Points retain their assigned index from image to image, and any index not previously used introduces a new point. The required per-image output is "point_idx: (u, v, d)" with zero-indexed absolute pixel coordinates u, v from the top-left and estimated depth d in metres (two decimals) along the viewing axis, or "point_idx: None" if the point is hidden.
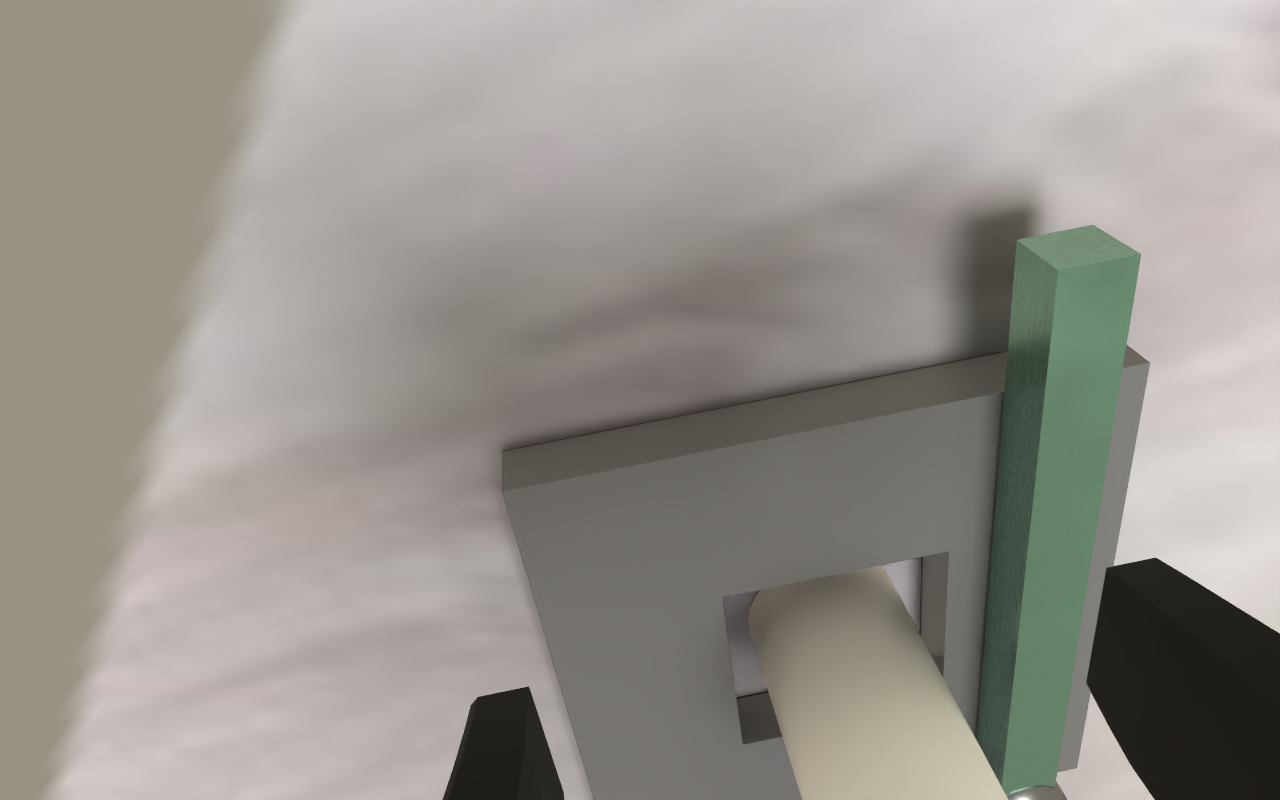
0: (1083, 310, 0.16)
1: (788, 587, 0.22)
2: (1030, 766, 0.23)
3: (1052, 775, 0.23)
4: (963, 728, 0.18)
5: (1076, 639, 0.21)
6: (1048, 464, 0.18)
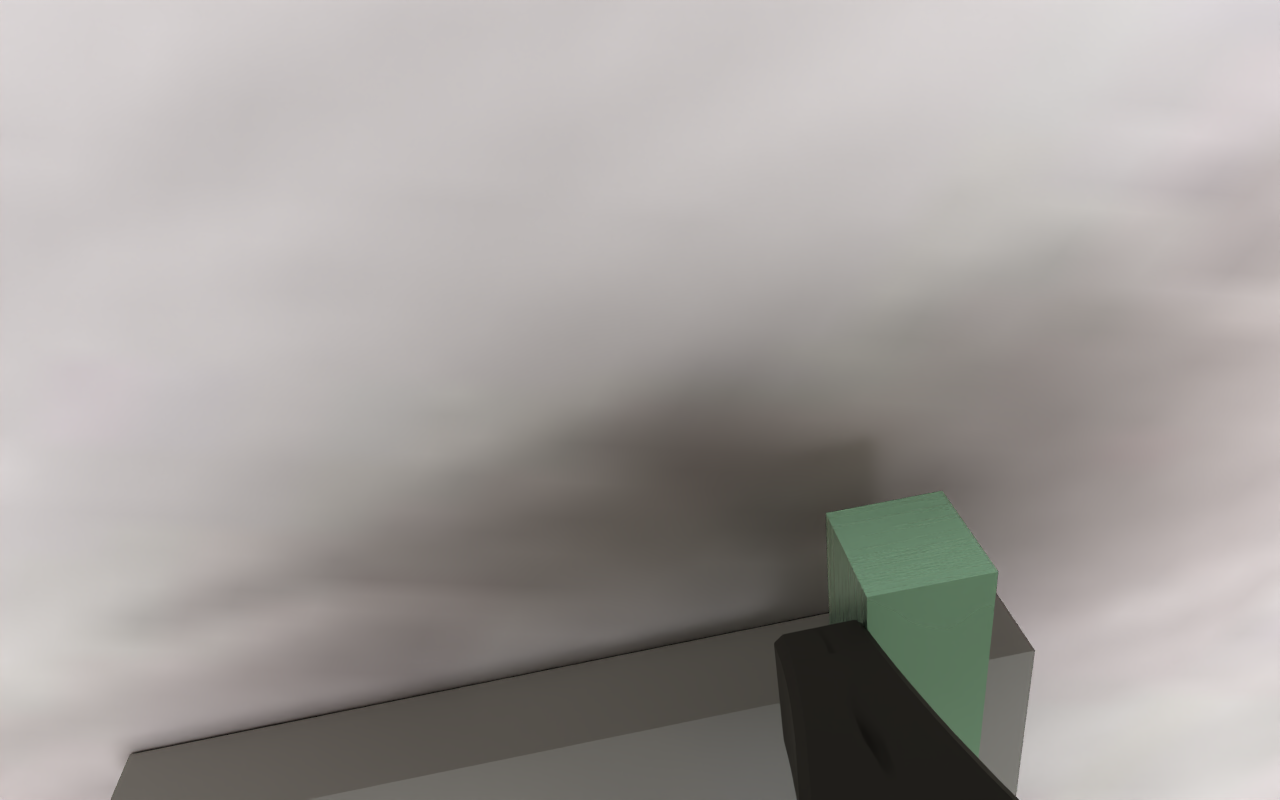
0: (914, 644, 0.10)
1: None
2: None
3: None
4: None
5: None
6: None
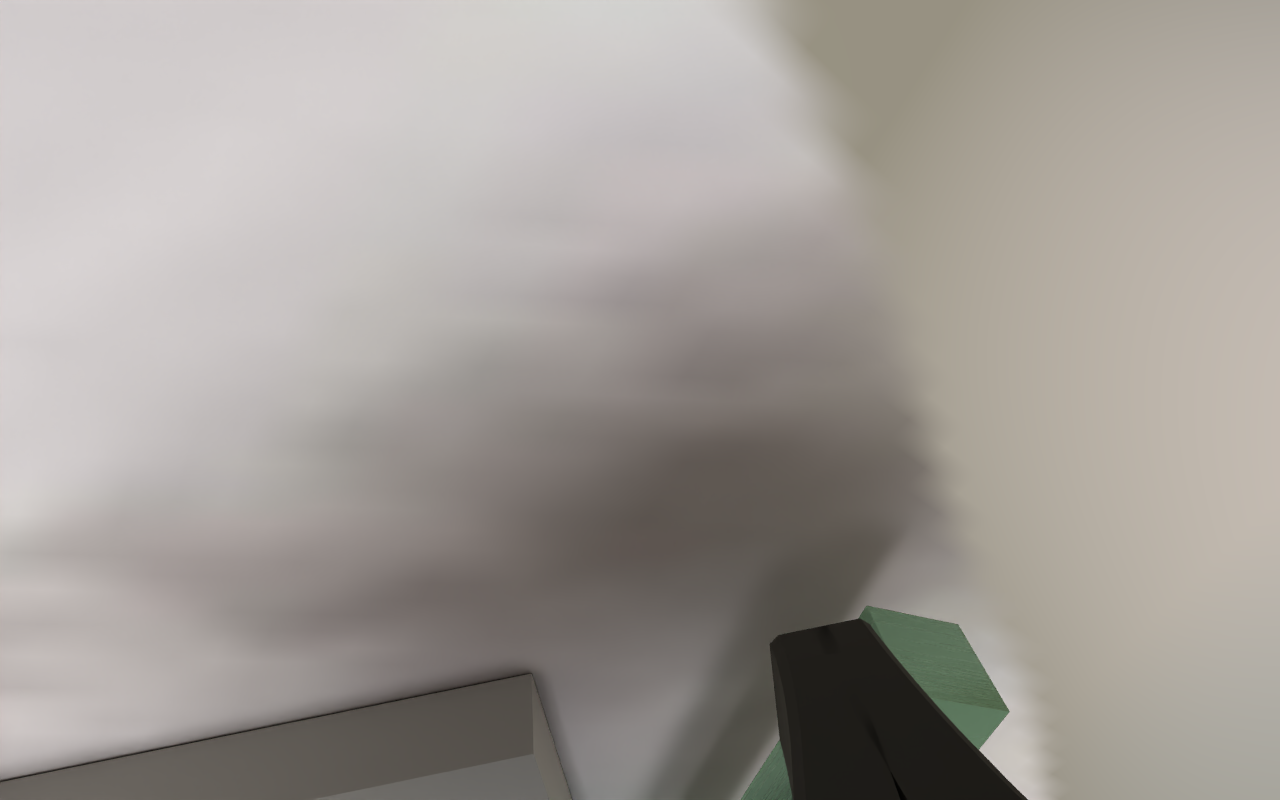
0: None
1: None
2: None
3: None
4: None
5: None
6: None
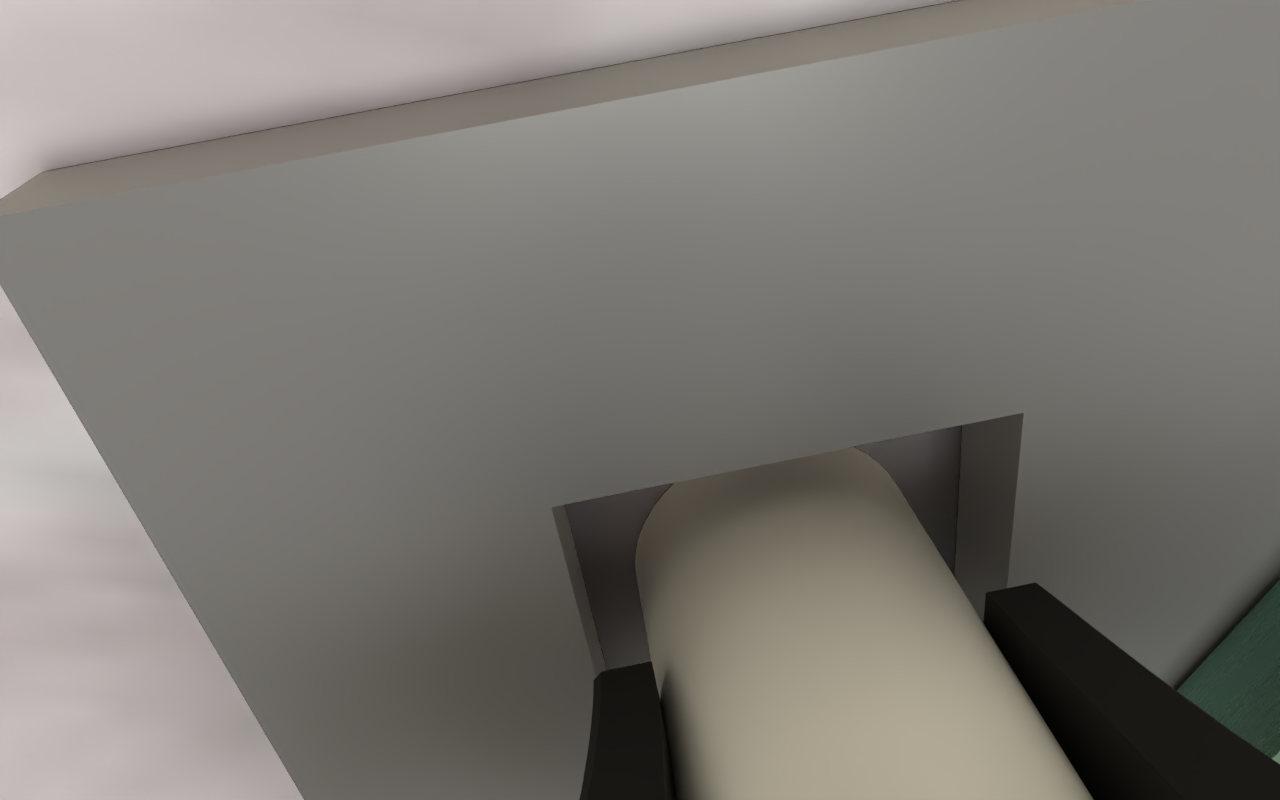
0: None
1: (701, 497, 0.11)
2: None
3: None
4: (1081, 796, 0.08)
5: None
6: None
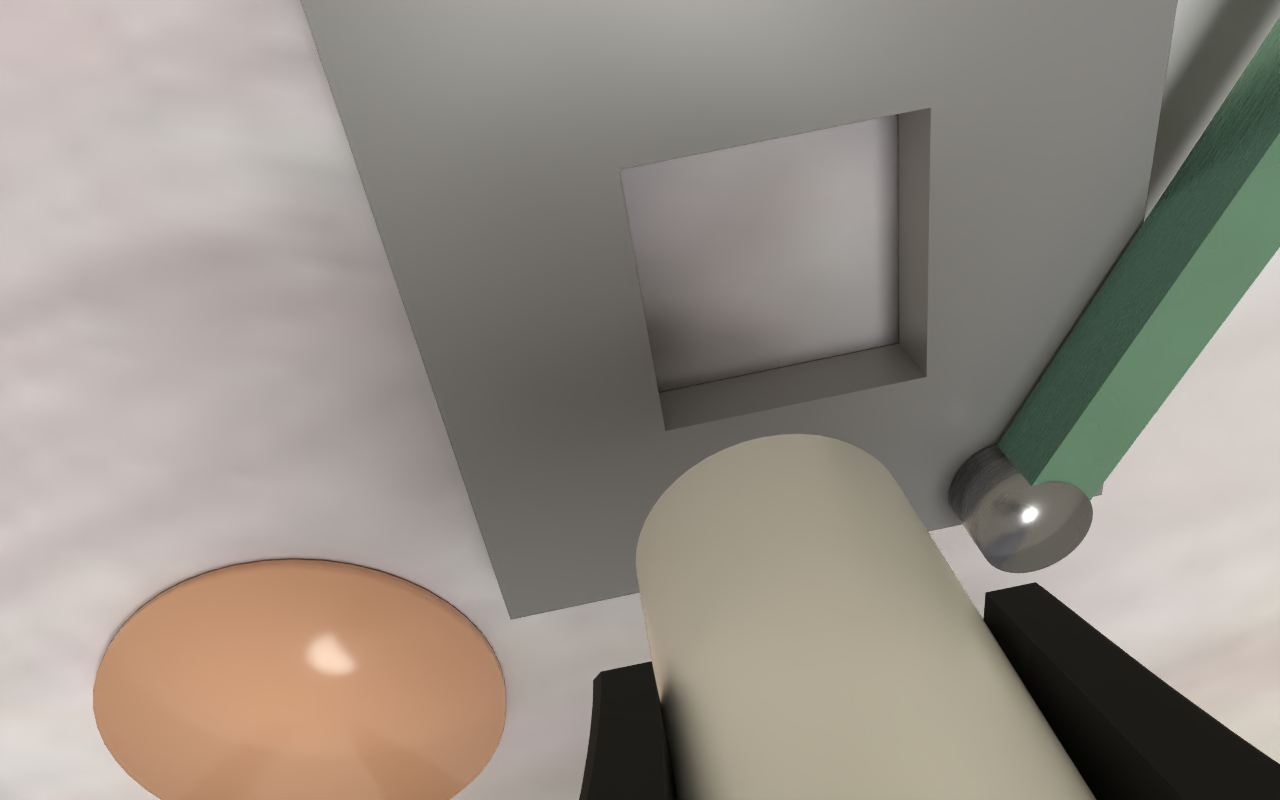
0: None
1: (702, 495, 0.11)
2: (1094, 446, 0.18)
3: (1102, 476, 0.18)
4: (1082, 794, 0.08)
5: (1274, 250, 0.16)
6: None
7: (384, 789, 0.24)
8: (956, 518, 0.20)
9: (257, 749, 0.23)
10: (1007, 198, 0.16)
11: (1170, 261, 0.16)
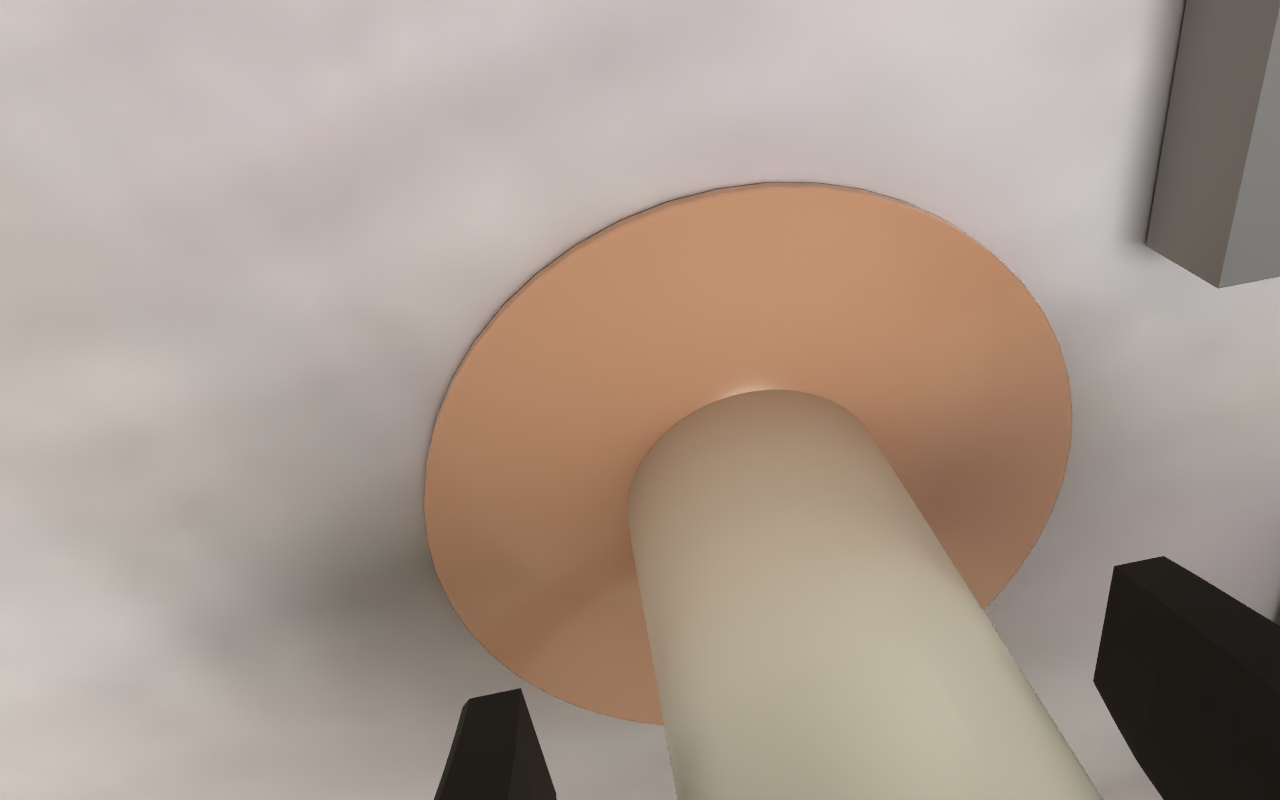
0: None
1: (692, 443, 0.12)
2: None
3: None
4: (1033, 700, 0.08)
5: None
6: None
7: None
8: None
9: None
10: None
11: None
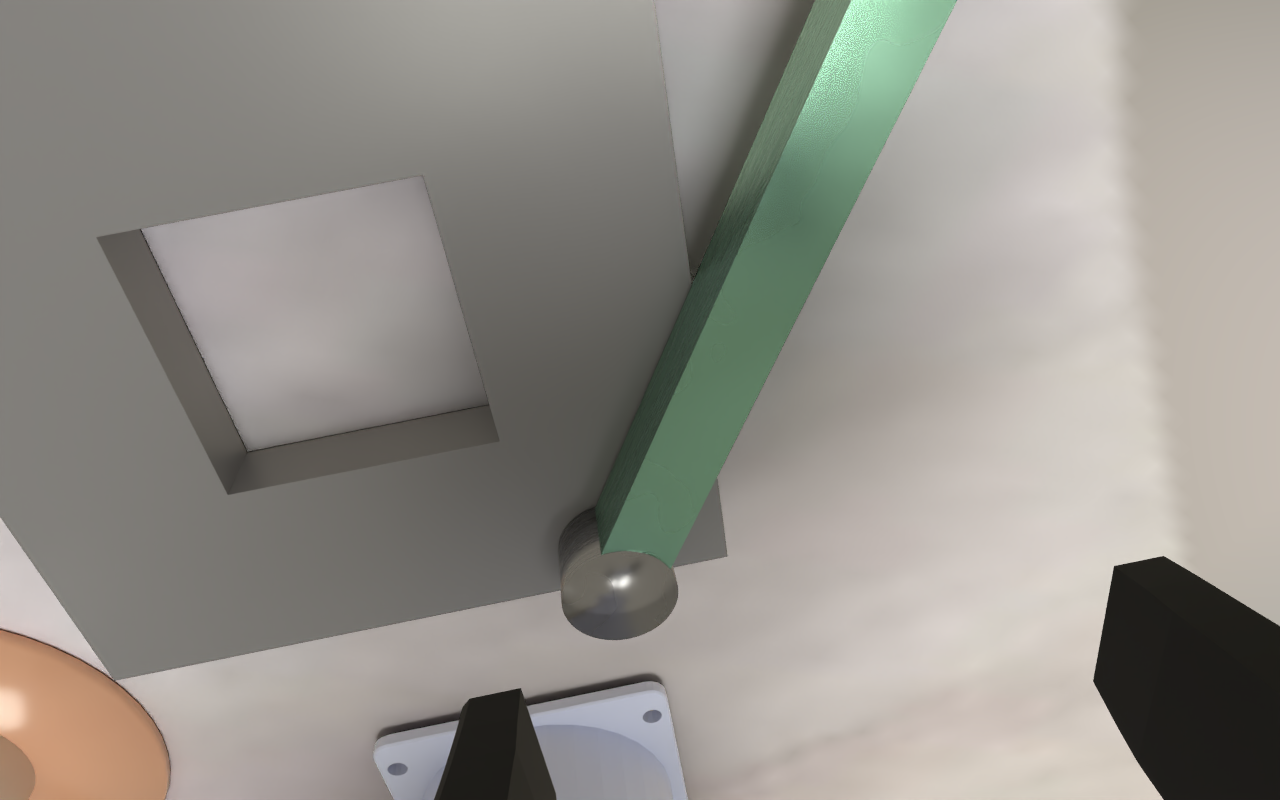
0: None
1: None
2: (657, 515, 0.17)
3: (676, 545, 0.18)
4: None
5: (791, 323, 0.15)
6: None
7: None
8: None
9: None
10: (535, 265, 0.16)
11: (693, 332, 0.16)
